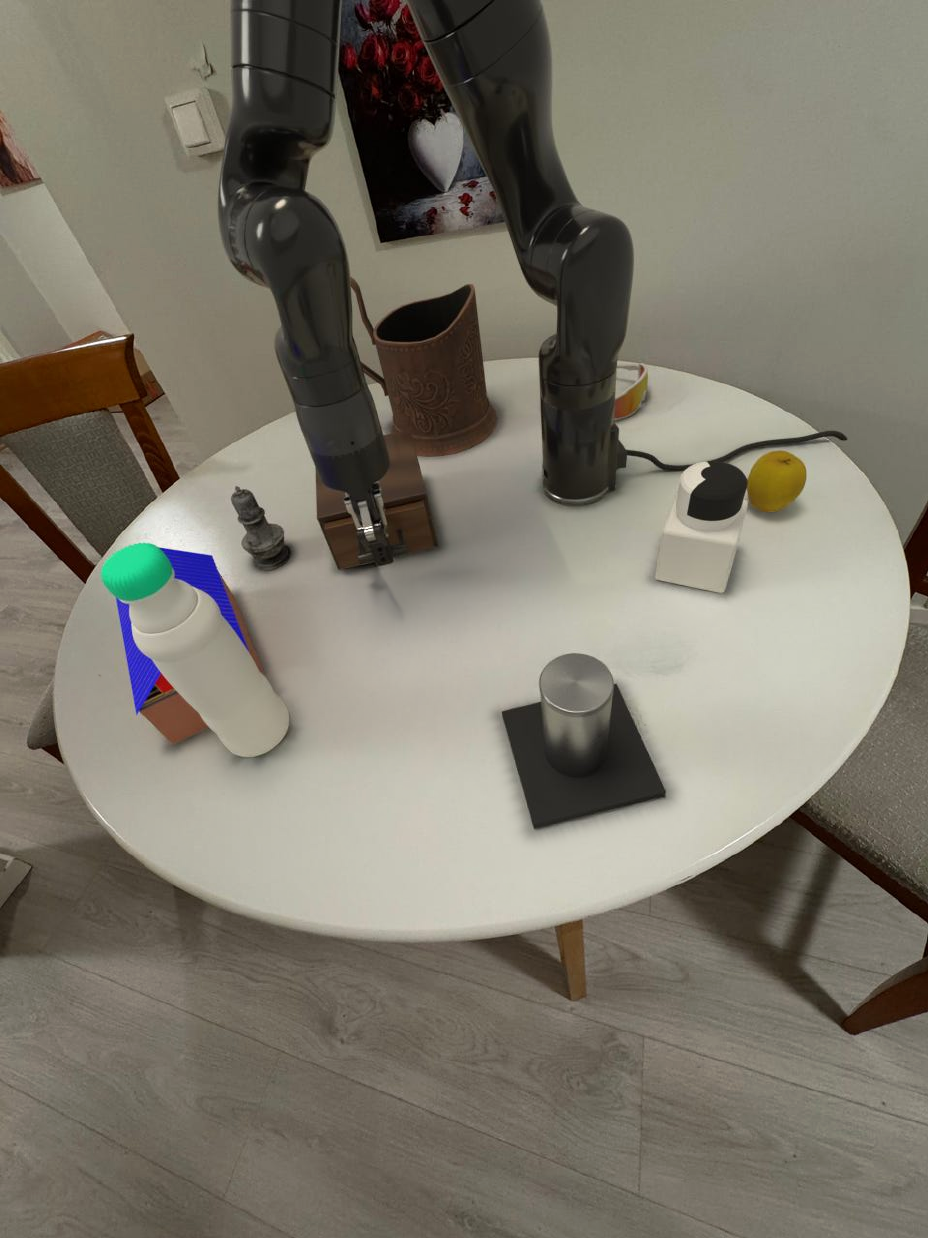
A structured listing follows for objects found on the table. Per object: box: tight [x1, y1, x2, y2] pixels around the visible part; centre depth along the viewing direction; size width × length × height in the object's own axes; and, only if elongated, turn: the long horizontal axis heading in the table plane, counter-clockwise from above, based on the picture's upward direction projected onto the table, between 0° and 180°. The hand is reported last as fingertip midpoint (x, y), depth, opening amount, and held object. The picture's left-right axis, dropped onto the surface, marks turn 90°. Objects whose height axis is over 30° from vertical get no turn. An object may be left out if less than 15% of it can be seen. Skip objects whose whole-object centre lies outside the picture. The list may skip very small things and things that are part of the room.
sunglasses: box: [614, 362, 649, 421], centre depth 96 cm, size 14×15×5 cm
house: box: [115, 546, 267, 746], centre depth 66 cm, size 12×20×12 cm, turn 29°
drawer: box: [324, 501, 435, 570], centre depth 77 cm, size 19×13×7 cm
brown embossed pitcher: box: [350, 275, 499, 457], centre depth 90 cm, size 18×24×25 cm
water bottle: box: [100, 542, 290, 758], centre depth 53 cm, size 7×7×25 cm
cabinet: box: [314, 429, 439, 570], centre depth 80 cm, size 16×14×9 cm
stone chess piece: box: [230, 485, 292, 571], centre depth 77 cm, size 6×6×12 cm
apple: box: [746, 449, 808, 513], centre depth 71 cm, size 6×6×8 cm
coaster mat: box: [501, 683, 667, 830], centre depth 55 cm, size 12×12×1 cm
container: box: [654, 460, 749, 594], centre depth 65 cm, size 8×8×13 cm
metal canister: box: [538, 652, 615, 777], centre depth 51 cm, size 6×6×11 cm
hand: (384, 560), depth 70 cm, fingers closed
